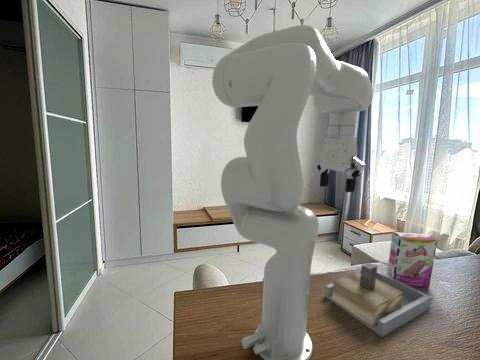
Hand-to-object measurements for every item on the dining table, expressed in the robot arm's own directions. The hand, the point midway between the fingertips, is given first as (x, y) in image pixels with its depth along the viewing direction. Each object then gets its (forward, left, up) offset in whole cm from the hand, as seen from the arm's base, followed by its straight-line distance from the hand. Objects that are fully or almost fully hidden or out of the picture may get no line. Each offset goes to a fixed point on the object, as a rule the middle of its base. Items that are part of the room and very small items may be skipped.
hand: (336, 188), depth 77 cm
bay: (+3, -14, -30) cm, 34 cm away
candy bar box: (+22, -13, -31) cm, 40 cm away
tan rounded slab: (-2, -14, -30) cm, 34 cm away
